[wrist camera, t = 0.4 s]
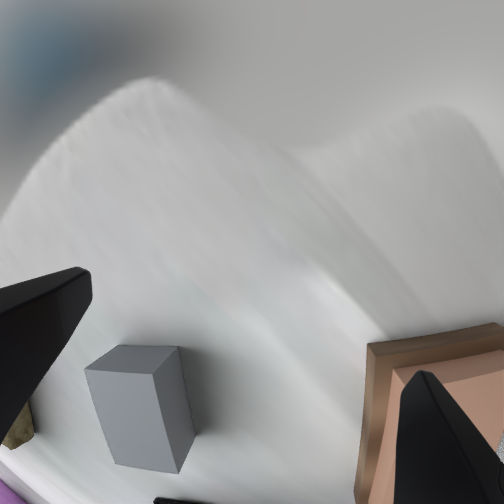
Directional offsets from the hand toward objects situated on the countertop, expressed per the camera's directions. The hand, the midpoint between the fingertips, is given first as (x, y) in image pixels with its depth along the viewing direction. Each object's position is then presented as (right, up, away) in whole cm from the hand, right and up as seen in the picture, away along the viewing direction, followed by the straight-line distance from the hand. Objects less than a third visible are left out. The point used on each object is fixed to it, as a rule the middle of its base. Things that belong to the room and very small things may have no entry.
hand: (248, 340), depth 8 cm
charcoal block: (-7, -9, +15) cm, 19 cm away
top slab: (+14, -11, +10) cm, 21 cm away
